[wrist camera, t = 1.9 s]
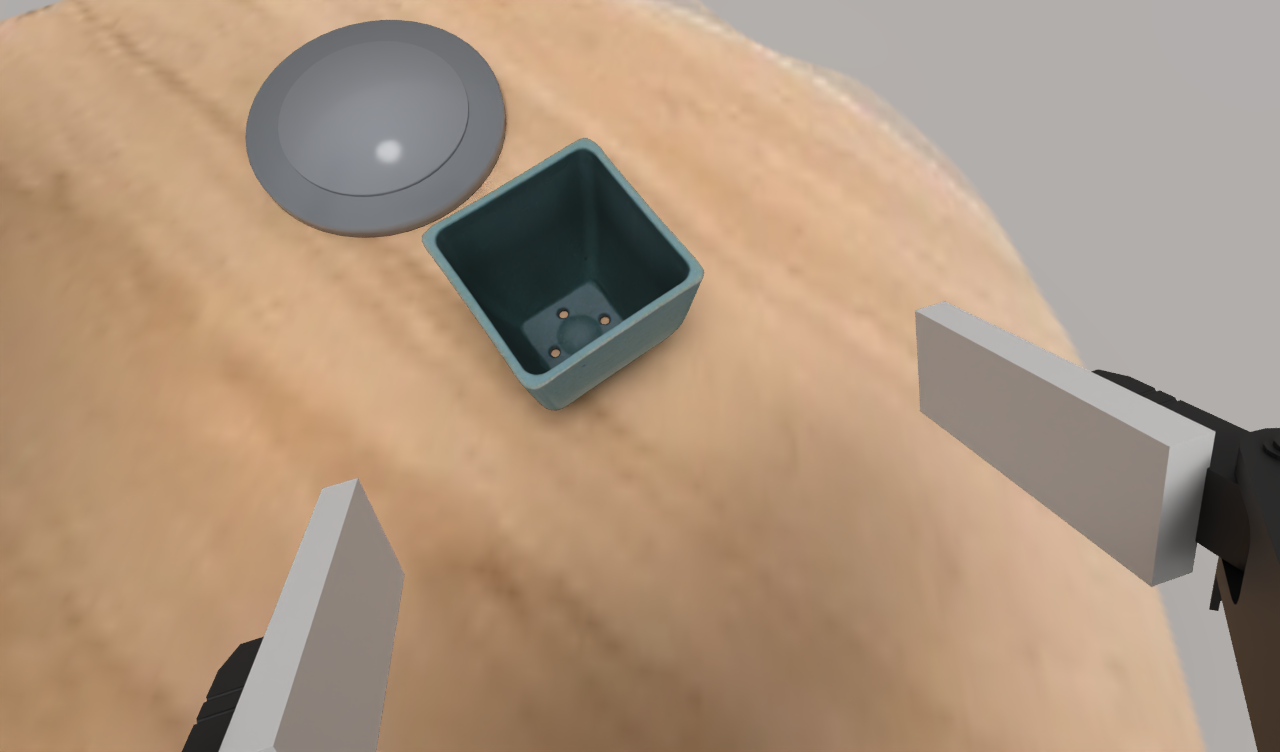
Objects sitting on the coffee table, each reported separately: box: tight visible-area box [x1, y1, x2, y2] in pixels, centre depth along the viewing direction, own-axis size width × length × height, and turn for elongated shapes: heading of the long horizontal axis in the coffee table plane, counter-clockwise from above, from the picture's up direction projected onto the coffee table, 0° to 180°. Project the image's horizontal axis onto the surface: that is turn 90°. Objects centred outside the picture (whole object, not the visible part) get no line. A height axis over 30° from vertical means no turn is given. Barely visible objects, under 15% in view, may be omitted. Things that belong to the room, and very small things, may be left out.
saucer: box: [246, 20, 506, 237], centre depth 41 cm, size 15×15×1 cm
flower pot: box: [422, 138, 704, 410], centre depth 33 cm, size 9×9×9 cm
